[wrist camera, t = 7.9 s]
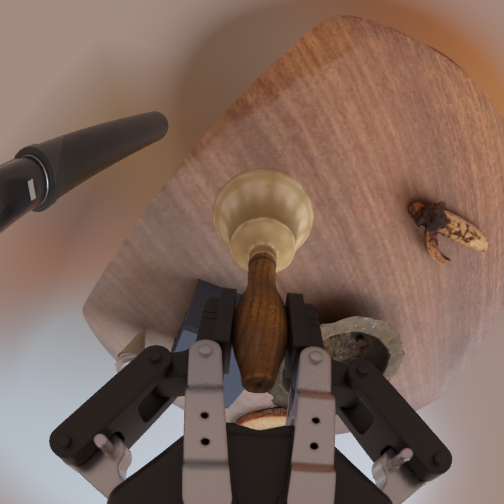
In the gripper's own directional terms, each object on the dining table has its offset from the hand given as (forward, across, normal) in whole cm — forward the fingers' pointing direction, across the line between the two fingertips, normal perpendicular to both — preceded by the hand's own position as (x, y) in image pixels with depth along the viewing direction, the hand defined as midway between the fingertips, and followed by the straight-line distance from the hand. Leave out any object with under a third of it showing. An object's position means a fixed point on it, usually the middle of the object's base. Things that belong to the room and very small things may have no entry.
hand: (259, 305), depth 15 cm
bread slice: (+25, -9, +61) cm, 66 cm away
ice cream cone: (+25, +19, +30) cm, 44 cm away
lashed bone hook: (+25, -29, +5) cm, 39 cm away
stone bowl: (+25, -16, +30) cm, 42 cm away
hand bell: (+11, 0, 0) cm, 11 cm away
